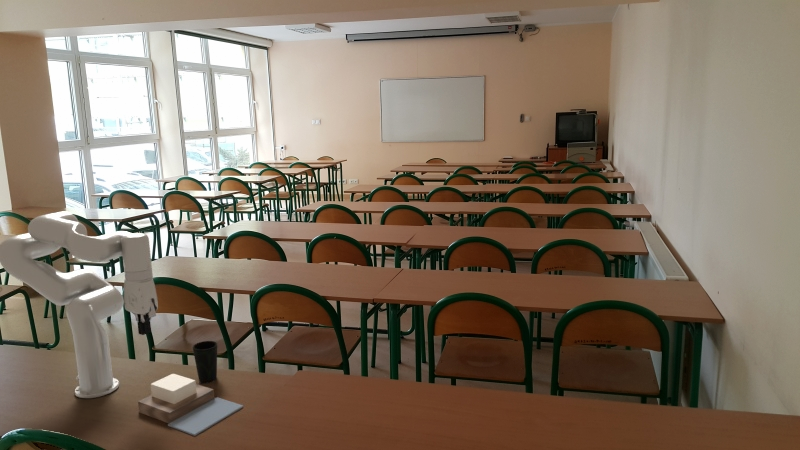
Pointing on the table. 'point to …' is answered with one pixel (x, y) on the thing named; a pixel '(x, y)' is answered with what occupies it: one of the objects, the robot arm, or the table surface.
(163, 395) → the cream rectangular block
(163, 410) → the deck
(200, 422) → the mat
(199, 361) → the cup
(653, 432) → the table surface
